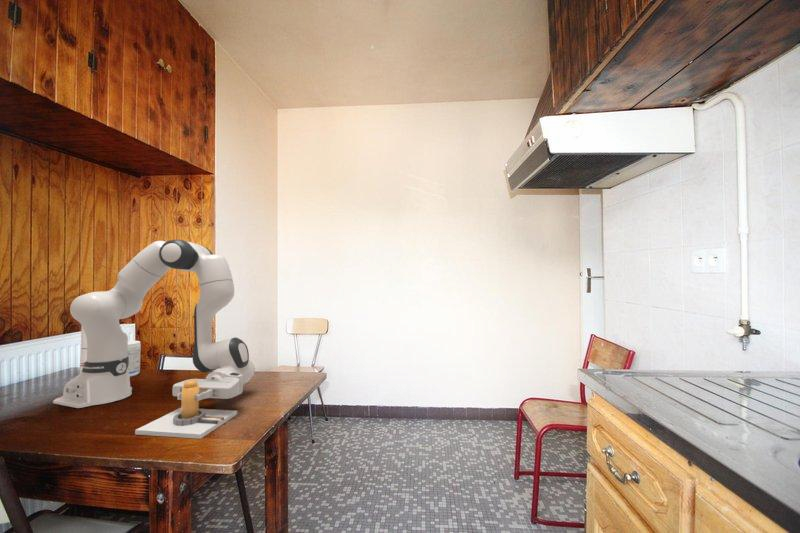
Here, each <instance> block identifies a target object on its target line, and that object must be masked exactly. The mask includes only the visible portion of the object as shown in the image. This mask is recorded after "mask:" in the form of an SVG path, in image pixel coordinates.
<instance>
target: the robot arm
mask: <svg viewBox="0 0 800 533" xmlns="http://www.w3.org/2000/svg"><path fill="white" fill-rule="evenodd" d="M170 269H173V270H179V271H183V272H193V273H195V274H196V276H197V279H198V285H199V297H198V302H197V303H196V305H195V307H194V313H193V328H194V329H193V331H194V334H193V337H194V343H193V344H194V347H193V354H192V363H193V366H194V367H195V368H196V369H197V371H200V372H201V373H203V374H207V375H206V376H205V378H190V379H186V380H182V381H180V382H176V383H174V384H173V385H172V396H173V397H177V401H178V400H180V401H182V387H183V386H184V382H185V381H188V380H197V384H198V385H199V393H198V394H196V395H195V399H194V400H196V401H199V402H200V401H202V400H206V399H219V400H220V399H221V400H228V399H234V398H235V397H237V396H239V395H241V394H243V390H244V385H245V384H246V383H248V382H249V381H250V380H251V379H252V378H253V376H254V375H255V369H256V368H255V365H254V363H253V361H251V360H250V359H249V358H250V355H249V354H250V353H249V349H248V345H247V344H246V343H245V342H244V340H242V339H240V338H239V337H236V336H235V337H231V338H227V339H223V340H220V341H215V342H213V332H212V327H213V326H212V323H213V322H212V321H213V318H214V317H215V316H216V314H217V313H218V312H220V311H221V310H222V309H223V308H225V307H227V305H228V304H229V303H230V302H231V301H232V300H233V298H234V296H235V285H234V280H233V276H232V271H231V268H230V267H229V264H228V261H227V259H226V258H225V256H222V255H219V254H214V253H213V252H212V251H211V249H209V248H208V247H206V246H204V245H201V244H198V243H196V242H191V241H188V240H187V241H186V240H184V239H170V240H167V241H164V240H156V241H155V240H154V241H153V242H151V243H150V244H149V245H147V246H145V248H143V249H142V250H140V251H139V252H138V253H137V254H136V255H135V256H134V257H132V259H131V260H130V261H128V262H127V263H126V265H124V267H123V268H122V269H121V270H120V271H119V272H118V273H117V282H116V283H115V285H114V286H113V288H111V289H109V290H106V291H105V290H103V291H101V290H100V291H92V292H87V293H84V294H81V295H79V296H77V297H75V298H74V299H73V300H72V302H71V303H70V307H69V312H70V315H71V317H72V318H73V319H74V320H75V321H77V322H78V323H79V324H80V326H81V328H82V327H83V329H84V331H85V334H86V338H87V361H86V362H84V363H80V362H79V368H80V367H81V366H83V369H82V372H81V373H80V372H79V374H78V375H75V376H74V378H72V379H70V380H69V381H68V382H66V384H65V385H64V387H63V390H62V391H63V392H62V393H63V394H62V396H60V397H57V398H55V399H54V400H53V401H52V404H55V405H60V406H63V407H64V406H65V407H70V408H76V409H81V408H86V407H91V406H97V405H105V404H110V403H113V402H116V401H117V402H118V401H121V400H124V399H126V398H128V397H130V396H131V395H133V394H132V393H133V392H132V391H133V387H132V386H131V381H130V379H131V377H129V370H128V369H127V368H128V366H129V357H128V356H127V351H128V341H129V336H128V335H127V333H126V332H124V331H123V329H122V327H121V325H120V320H122V319H127V318H128V319H129V318H130V317H132V316H134V315H136V314H138V313H139V312H140V311H141V309H142V307H143V300H144V298H145V297H146V296H147V293H148V292H149V291H150V290H151V289H152V287H154V286H155V284H156V283H158V282H159V281H160V280H161V278H163V277H164V275H166V273H168V271H170ZM80 364H84V365H81V366H80Z"/></svg>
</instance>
